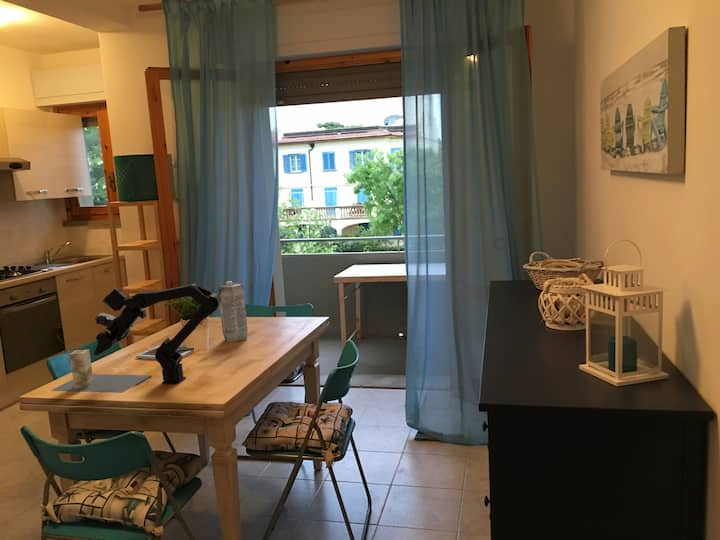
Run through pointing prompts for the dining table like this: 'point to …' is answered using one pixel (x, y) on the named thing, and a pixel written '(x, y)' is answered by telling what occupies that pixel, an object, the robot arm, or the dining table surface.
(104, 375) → the rubber mat
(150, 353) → the picture frame
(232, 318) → the juice carton
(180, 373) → the robot arm
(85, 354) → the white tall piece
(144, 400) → the dining table surface
